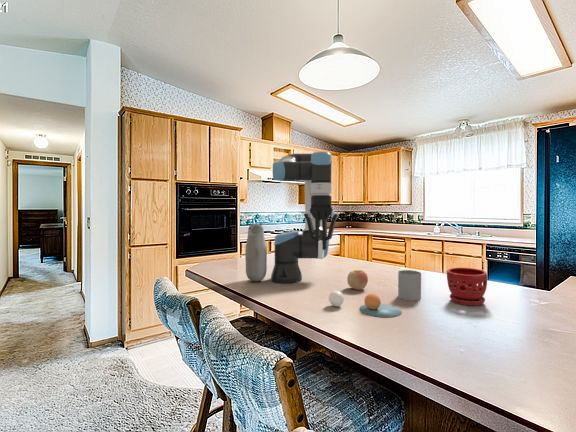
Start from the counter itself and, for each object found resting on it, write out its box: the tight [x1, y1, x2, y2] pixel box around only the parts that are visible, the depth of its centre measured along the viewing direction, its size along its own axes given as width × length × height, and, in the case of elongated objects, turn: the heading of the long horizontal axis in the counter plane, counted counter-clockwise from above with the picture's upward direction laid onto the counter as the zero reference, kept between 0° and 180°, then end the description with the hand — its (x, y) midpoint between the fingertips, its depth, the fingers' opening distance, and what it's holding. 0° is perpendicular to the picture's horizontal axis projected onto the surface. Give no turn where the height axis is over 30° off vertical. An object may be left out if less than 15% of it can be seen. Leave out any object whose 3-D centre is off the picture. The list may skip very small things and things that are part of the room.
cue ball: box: [328, 290, 345, 308], centre depth 114 cm, size 6×6×6 cm
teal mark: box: [359, 303, 402, 318], centre depth 110 cm, size 14×14×1 cm
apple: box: [346, 269, 369, 291], centre depth 138 cm, size 9×9×8 cm
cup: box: [397, 269, 422, 302], centre depth 125 cm, size 8×8×10 cm
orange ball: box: [363, 293, 382, 310], centre depth 111 cm, size 6×6×6 cm
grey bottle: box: [244, 222, 268, 283], centre depth 153 cm, size 10×10×28 cm
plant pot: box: [446, 267, 488, 307], centre depth 119 cm, size 13×13×12 cm
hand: (321, 258), depth 118 cm, fingers closed
